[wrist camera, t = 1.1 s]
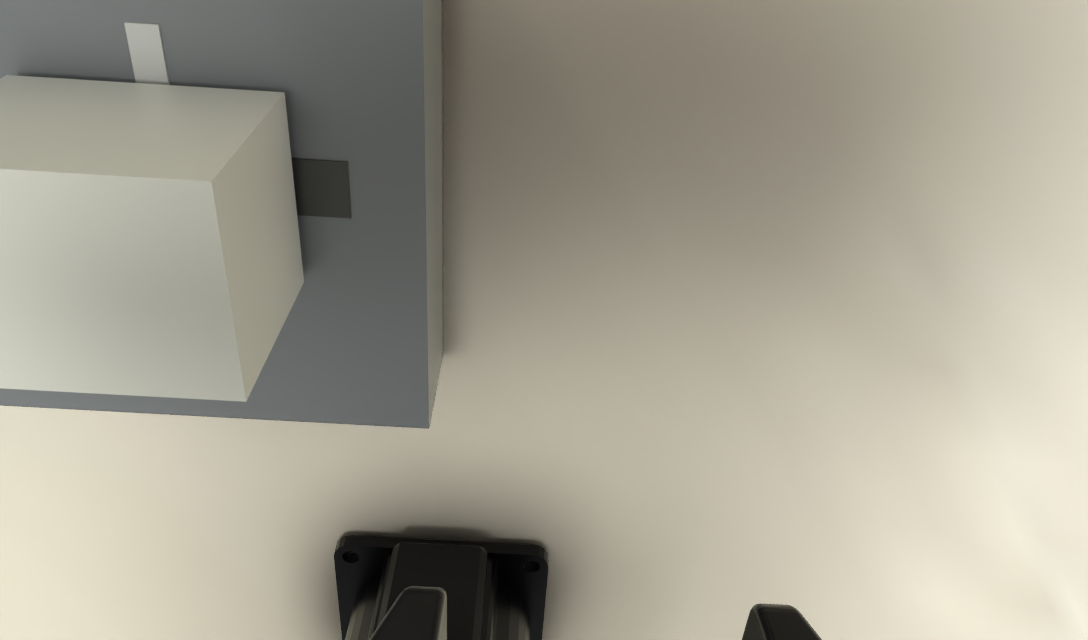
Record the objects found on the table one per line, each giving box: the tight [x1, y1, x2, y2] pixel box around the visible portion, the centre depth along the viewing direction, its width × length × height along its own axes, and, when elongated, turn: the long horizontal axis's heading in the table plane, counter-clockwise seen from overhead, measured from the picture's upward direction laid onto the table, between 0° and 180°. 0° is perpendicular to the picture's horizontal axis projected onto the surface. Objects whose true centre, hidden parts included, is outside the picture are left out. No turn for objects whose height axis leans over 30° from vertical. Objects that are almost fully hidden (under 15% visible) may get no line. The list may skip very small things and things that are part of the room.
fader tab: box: [0, 75, 304, 402], centre depth 15 cm, size 4×5×4 cm
